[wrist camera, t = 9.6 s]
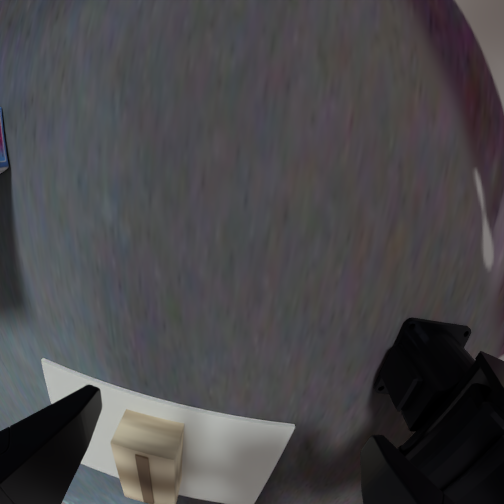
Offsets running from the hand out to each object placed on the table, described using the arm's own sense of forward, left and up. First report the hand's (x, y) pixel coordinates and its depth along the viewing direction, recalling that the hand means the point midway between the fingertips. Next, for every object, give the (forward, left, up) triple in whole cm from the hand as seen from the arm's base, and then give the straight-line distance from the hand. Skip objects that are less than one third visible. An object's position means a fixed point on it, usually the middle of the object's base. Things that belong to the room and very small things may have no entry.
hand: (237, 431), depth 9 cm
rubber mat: (+5, +19, -11) cm, 23 cm away
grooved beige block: (+5, +18, -11) cm, 21 cm away
